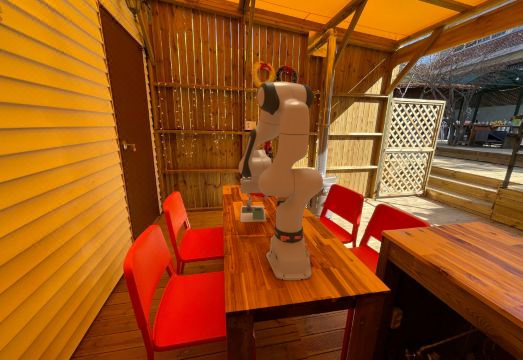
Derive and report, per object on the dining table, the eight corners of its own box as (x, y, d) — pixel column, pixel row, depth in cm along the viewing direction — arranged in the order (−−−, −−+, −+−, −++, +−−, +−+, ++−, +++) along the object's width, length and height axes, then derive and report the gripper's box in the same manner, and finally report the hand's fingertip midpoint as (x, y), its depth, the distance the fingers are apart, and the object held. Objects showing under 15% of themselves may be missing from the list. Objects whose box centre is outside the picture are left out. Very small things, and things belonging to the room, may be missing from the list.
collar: (263, 219, 125) (263, 211, 123) (252, 219, 124) (252, 211, 123) (263, 214, 131) (263, 207, 130) (252, 214, 131) (252, 207, 129)
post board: (266, 223, 123) (266, 211, 121) (240, 224, 122) (240, 212, 120) (263, 207, 146) (263, 197, 144) (241, 208, 145) (241, 197, 143)
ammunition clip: (276, 208, 145) (277, 191, 142) (276, 207, 147) (276, 190, 144) (292, 207, 147) (292, 190, 144) (291, 206, 148) (291, 190, 145)
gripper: (239, 178, 118) (240, 201, 121) (276, 178, 119) (275, 201, 123) (239, 175, 124) (240, 197, 128) (274, 175, 125) (274, 197, 129)
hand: (257, 199), depth 125 cm, fingers open, 8 cm apart
